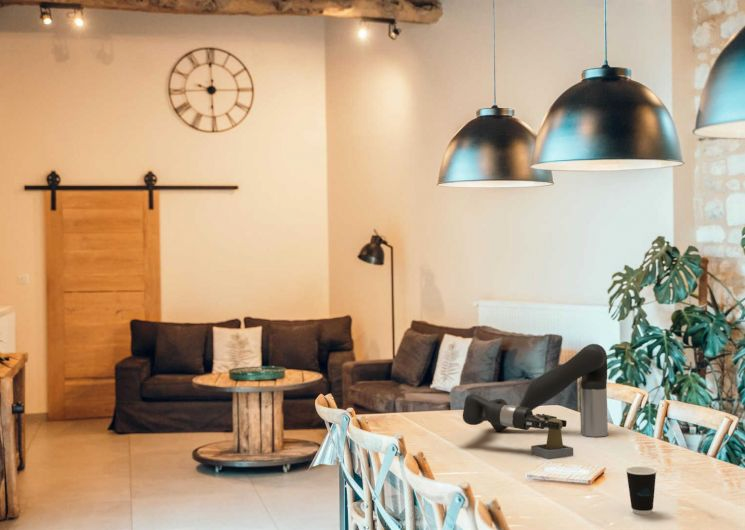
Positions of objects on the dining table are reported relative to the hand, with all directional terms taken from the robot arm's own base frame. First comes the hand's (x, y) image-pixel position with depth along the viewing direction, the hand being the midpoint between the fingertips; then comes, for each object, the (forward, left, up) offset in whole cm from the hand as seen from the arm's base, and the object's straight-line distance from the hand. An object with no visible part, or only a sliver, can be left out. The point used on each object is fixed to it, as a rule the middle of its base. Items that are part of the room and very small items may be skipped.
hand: (562, 425), depth 318 cm
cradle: (-4, -2, -10) cm, 11 cm away
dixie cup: (+66, -21, -10) cm, 70 cm away
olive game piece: (-3, -1, -9) cm, 10 cm away
